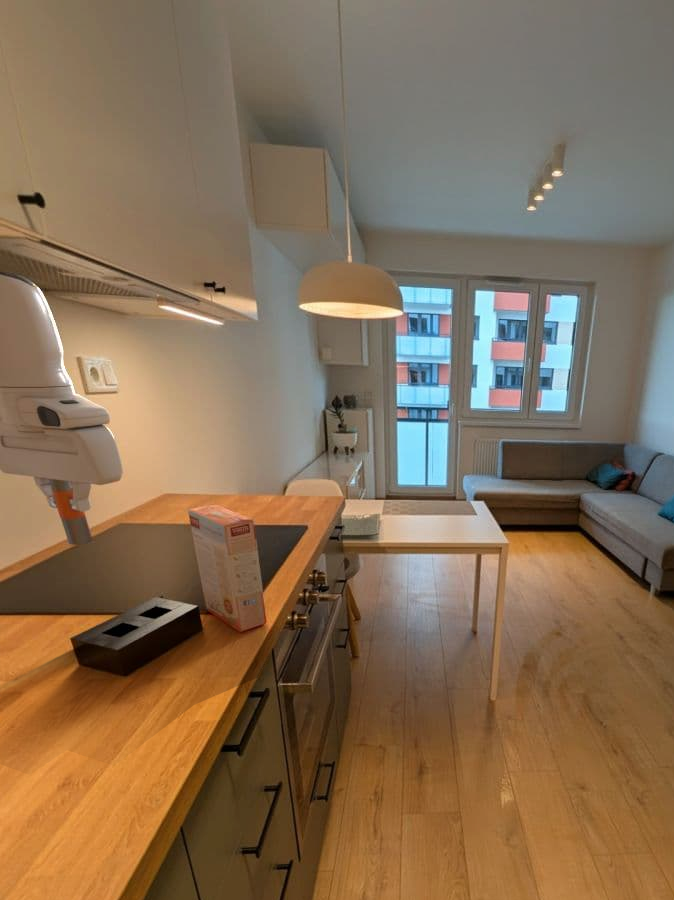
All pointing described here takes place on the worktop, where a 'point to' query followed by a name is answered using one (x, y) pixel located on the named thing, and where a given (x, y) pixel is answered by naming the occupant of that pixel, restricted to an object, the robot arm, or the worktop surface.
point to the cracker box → (228, 566)
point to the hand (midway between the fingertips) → (70, 508)
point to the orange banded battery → (70, 514)
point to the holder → (137, 636)
